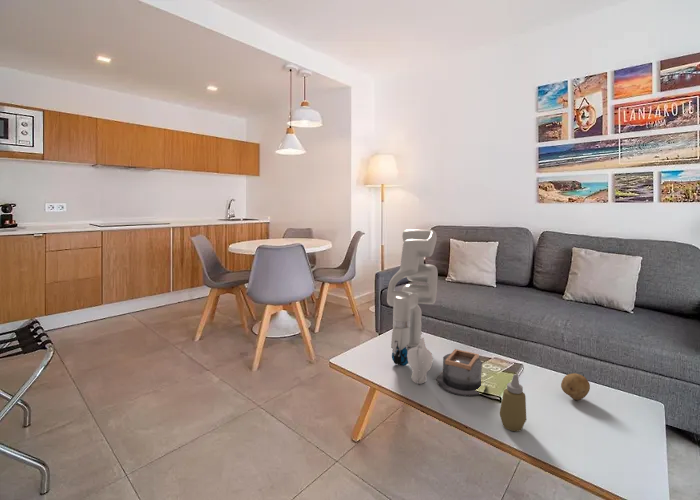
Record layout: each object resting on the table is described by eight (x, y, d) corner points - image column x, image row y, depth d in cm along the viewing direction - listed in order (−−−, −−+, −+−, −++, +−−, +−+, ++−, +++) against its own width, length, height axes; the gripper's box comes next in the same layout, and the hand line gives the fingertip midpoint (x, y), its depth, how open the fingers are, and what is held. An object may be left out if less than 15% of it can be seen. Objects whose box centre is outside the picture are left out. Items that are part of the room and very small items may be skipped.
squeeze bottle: (520, 419, 122) (523, 370, 120) (529, 435, 114) (533, 381, 112) (495, 418, 123) (498, 368, 121) (503, 433, 115) (506, 380, 113)
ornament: (390, 365, 162) (390, 344, 161) (393, 361, 166) (393, 341, 165) (408, 369, 159) (408, 347, 158) (410, 364, 163) (411, 344, 162)
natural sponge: (569, 405, 131) (571, 380, 130) (555, 392, 140) (557, 368, 138) (593, 405, 131) (596, 380, 130) (578, 392, 140) (580, 368, 138)
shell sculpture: (417, 388, 142) (419, 345, 140) (405, 379, 149) (406, 338, 147) (433, 384, 146) (435, 341, 144) (421, 375, 153) (422, 335, 151)
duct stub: (445, 369, 159) (446, 344, 158) (490, 380, 149) (492, 354, 147) (430, 387, 143) (431, 360, 142) (479, 401, 133) (481, 372, 132)
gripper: (401, 316, 169) (400, 353, 172) (385, 326, 155) (384, 366, 157) (416, 319, 165) (415, 356, 168) (401, 330, 151) (400, 370, 153)
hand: (400, 361), depth 162 cm, fingers open, 5 cm apart
